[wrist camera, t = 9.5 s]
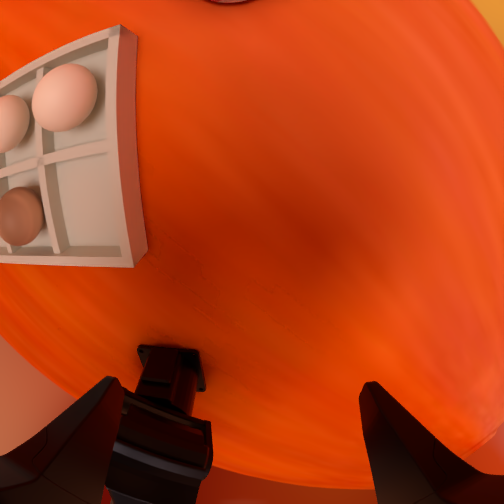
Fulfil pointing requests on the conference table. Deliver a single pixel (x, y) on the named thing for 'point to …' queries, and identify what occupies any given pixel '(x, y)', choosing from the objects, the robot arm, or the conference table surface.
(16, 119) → the cream egg
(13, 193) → the egg brown
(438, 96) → the conference table surface
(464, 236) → the conference table surface
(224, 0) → the beverage can
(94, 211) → the egg tray
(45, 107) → the cream egg
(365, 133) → the conference table surface
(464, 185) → the conference table surface
